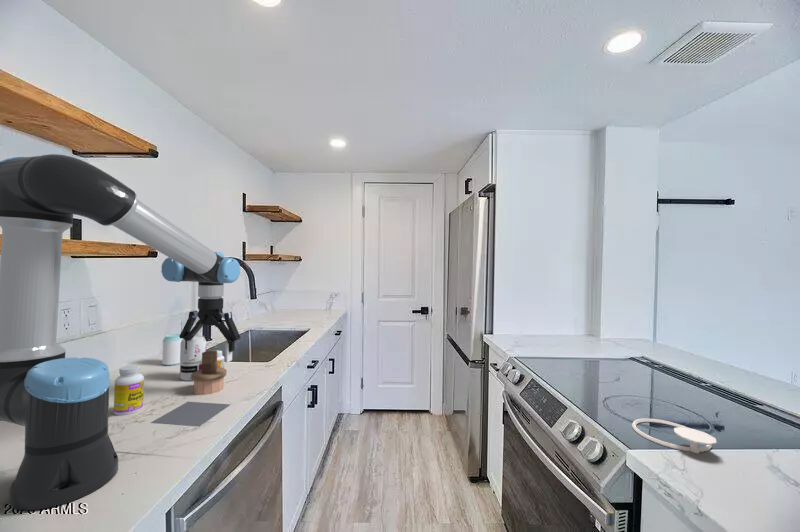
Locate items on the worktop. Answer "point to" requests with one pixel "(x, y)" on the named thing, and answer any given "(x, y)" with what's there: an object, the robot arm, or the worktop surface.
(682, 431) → the hand towel holder
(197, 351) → the supplement can
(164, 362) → the can
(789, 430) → the worktop surface
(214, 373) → the lid
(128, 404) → the supplement bottle
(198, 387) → the bowl
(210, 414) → the mat
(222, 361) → the supplement bottle
